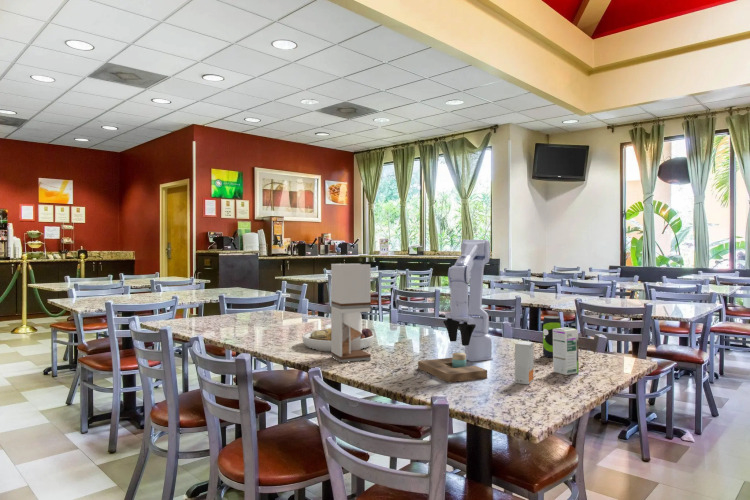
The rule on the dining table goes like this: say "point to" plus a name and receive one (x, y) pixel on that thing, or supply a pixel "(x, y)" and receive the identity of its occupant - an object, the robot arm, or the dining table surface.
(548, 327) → the beverage can
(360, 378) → the dining table surface
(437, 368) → the notched board
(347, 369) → the dining table surface
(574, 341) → the syrup box
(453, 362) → the wooden bobbin
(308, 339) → the bowl
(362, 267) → the white cutaway tower
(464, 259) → the robot arm
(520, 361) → the skincare box
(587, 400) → the dining table surface
